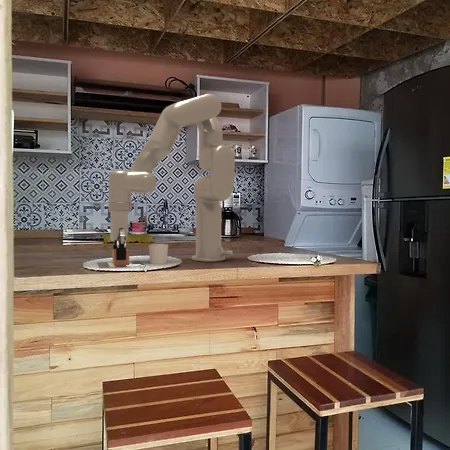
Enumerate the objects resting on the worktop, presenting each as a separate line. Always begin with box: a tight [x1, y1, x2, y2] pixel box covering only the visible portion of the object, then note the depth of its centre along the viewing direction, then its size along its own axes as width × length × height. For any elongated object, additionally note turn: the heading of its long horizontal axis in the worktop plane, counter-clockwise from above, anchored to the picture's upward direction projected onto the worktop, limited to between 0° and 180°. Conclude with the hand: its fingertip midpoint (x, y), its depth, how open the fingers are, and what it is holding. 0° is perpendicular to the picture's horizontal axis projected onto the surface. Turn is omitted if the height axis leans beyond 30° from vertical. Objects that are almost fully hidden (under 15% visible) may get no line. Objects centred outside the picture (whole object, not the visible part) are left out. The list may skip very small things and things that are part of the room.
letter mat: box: [96, 260, 145, 269], centre depth 153 cm, size 15×14×1 cm
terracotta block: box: [111, 248, 130, 266], centre depth 153 cm, size 5×5×5 cm
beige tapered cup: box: [148, 243, 169, 265], centre depth 157 cm, size 7×7×7 cm
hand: (119, 258), depth 153 cm, fingers open, 9 cm apart
